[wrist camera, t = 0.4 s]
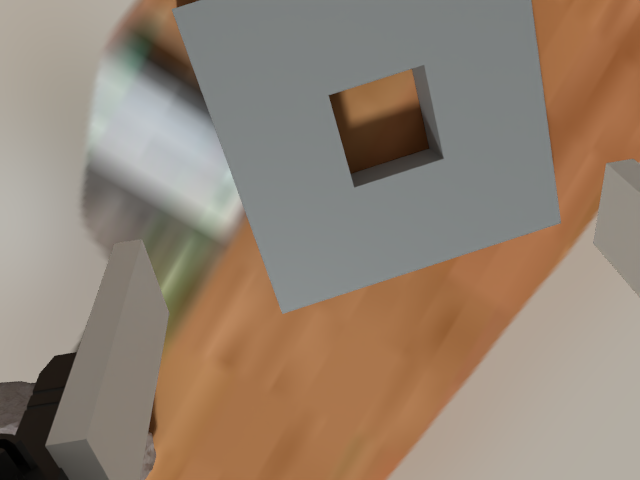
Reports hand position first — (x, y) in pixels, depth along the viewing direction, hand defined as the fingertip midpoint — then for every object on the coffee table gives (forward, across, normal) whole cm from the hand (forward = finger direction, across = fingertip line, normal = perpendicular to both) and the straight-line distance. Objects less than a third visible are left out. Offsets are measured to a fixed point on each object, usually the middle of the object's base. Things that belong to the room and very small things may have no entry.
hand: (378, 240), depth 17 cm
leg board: (+22, +4, -6) cm, 24 cm away
